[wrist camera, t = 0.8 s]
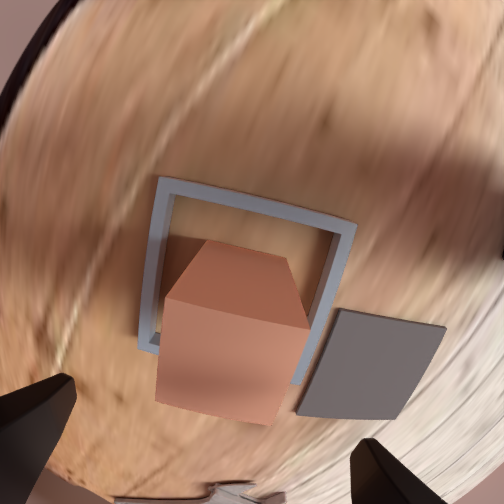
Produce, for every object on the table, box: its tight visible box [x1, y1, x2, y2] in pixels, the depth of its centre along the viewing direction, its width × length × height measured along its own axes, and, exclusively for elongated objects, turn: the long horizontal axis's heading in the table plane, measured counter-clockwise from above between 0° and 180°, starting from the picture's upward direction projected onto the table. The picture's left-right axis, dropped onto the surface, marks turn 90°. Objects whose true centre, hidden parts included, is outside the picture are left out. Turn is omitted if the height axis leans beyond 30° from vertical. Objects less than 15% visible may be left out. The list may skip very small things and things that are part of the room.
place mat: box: [296, 308, 447, 420], centre depth 20 cm, size 10×10×1 cm
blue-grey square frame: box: [137, 176, 358, 385], centre depth 18 cm, size 12×12×2 cm
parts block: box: [155, 240, 311, 426], centre depth 15 cm, size 5×5×9 cm
